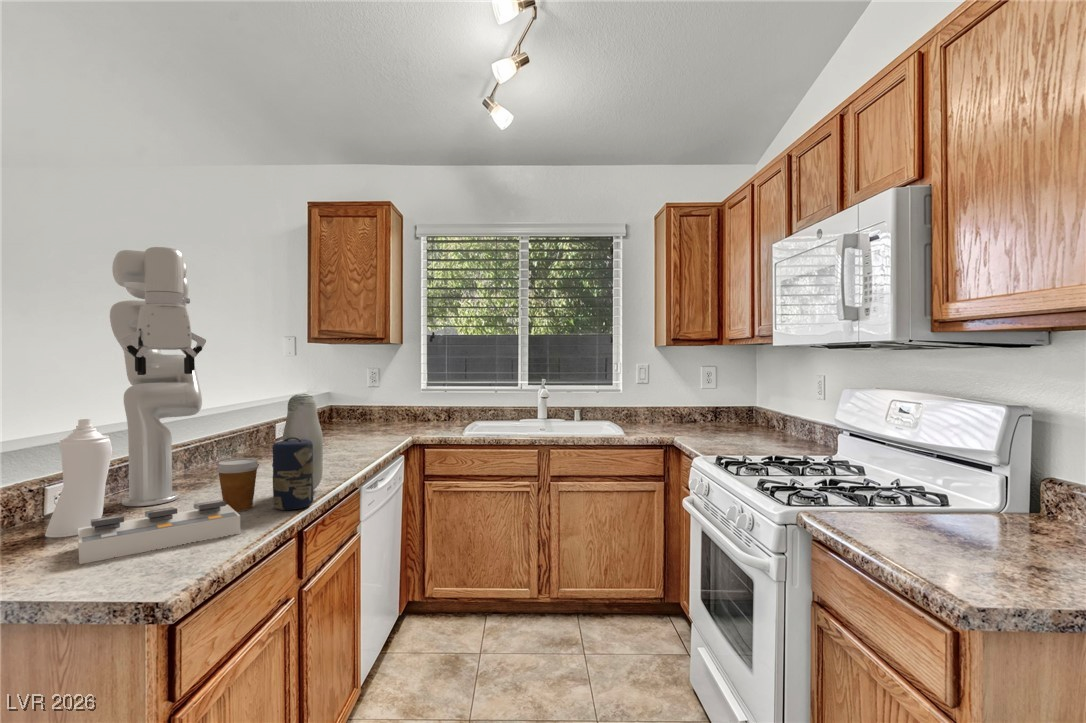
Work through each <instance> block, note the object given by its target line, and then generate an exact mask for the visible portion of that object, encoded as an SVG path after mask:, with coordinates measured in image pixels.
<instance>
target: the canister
mask: <svg viewBox="0 0 1086 723" xmlns="http://www.w3.org/2000/svg"><path fill="white" fill-rule="evenodd" d="M289 439H297V440H289ZM271 466H272V494H273V502H272V504H273V507H274V508H276V509H277V510H283V511H284V510H286V511H287V510H288V511H289V510H297V509H303V508H304V509H305V508H306V507H309V506H311V505H312V504H313V503H314V490H313V443H312V441H310V440H306V439H298V438H295V437H290V438H287V439H285V440H284V441H283V440H279V441H276V442H274V443H273V445H272V464H271Z"/></svg>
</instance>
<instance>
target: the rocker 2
mask: <svg viewBox="0 0 1086 723" xmlns="http://www.w3.org/2000/svg"><path fill="white" fill-rule="evenodd" d="M222 506H226V501H223V500H221V499H220V500H219V499H218V500H211V501H205V502H204V501H203V502H197V503H193V510H196V509H198V510H203V509H209V508H215V507H222Z"/></svg>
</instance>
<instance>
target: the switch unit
mask: <svg viewBox="0 0 1086 723" xmlns="http://www.w3.org/2000/svg"><path fill="white" fill-rule="evenodd" d="M234 534H236V535H240V534H241V514H239V513H238V511H235V510H234V509H232V508H231V507H230V506H229V505H226V506H222V507H215V508H209V509H203V510H198V509H192V510H183V511H177V514H171V515H165V516H159V517H152V518H147V517H145V516H144V517H140V518H134V519H127V520H124V522H121V523H114V524H108V525H102V526H95V527H92V526H88V527H82V528H78V535H77V542H78V543H77V550H78V564H79V565H83V564H88V563H93V562H97V561H98V562H99V561H103V560H109V559H115V558H120V557H125V556H129V555H130V556H131V555H135V554H140V553H145V552H146V553H147V552H152V551H156V549H157V550H162V548H163V549H167V547H168V548H172V546H173V547H177V545H178V546H183V545H182V544H184V545H187V544H186V543H189V544H192V543H191V542H194V543H197V542H196V541H200V542H203V541H202V540H205V541H207V540H206V539H210V540H213V539H212V538H215V539H219V538H218V537H221V538H224V537H223V536H226V537H229V536H228V535H231V536H235V535H234ZM151 550H152V551H151ZM114 557H115V558H114Z"/></svg>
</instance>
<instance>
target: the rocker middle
mask: <svg viewBox="0 0 1086 723" xmlns="http://www.w3.org/2000/svg"><path fill="white" fill-rule="evenodd" d="M177 512H178V508H176V507H174V506H173V507H172V506H171V507H166V508H157V509H152V510H145V511H144V518H145V517H147V518H152V517H159V516H165V515H171V514H177Z"/></svg>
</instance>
